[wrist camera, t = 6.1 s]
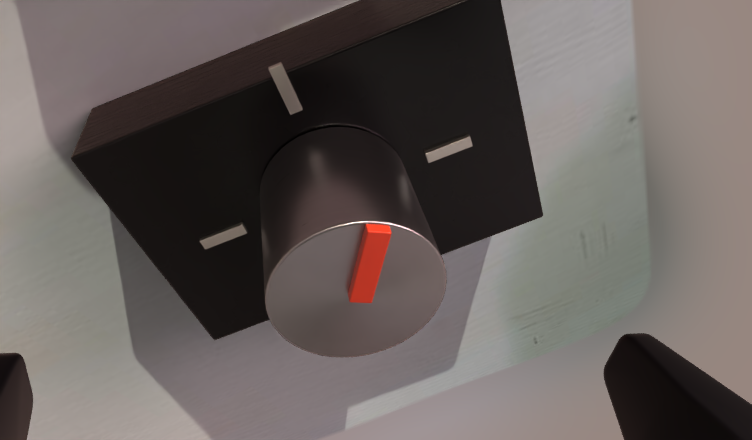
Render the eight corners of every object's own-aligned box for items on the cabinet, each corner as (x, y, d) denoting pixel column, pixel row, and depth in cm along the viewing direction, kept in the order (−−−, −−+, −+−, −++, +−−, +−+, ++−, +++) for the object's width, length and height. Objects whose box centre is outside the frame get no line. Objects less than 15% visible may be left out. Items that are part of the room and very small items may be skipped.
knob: (388, 253, 20) (424, 368, 16) (252, 245, 19) (256, 367, 15) (422, 134, 17) (474, 236, 14) (268, 117, 16) (277, 223, 12)
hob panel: (461, -54, 18) (498, -24, 15) (513, 176, 23) (547, 226, 20) (84, 99, 18) (60, 152, 16) (220, 288, 23) (217, 350, 21)
